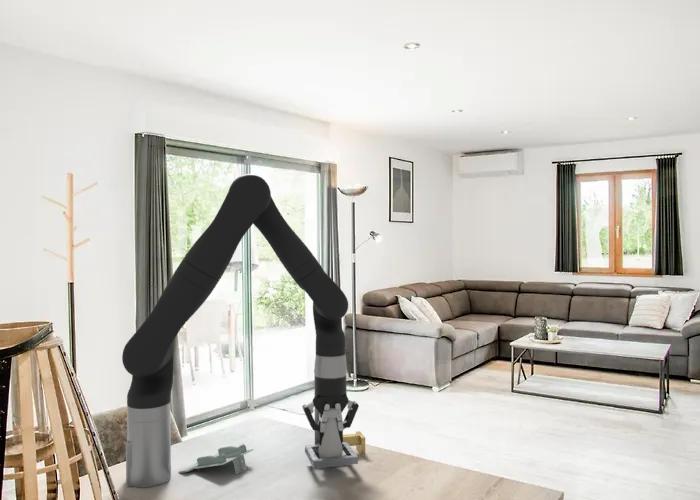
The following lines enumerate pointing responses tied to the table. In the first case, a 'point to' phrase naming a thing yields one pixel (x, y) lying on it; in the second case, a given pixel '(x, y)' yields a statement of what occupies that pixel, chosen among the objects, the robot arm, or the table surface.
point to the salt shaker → (331, 437)
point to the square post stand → (348, 441)
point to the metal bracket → (223, 459)
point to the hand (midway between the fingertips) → (330, 445)
